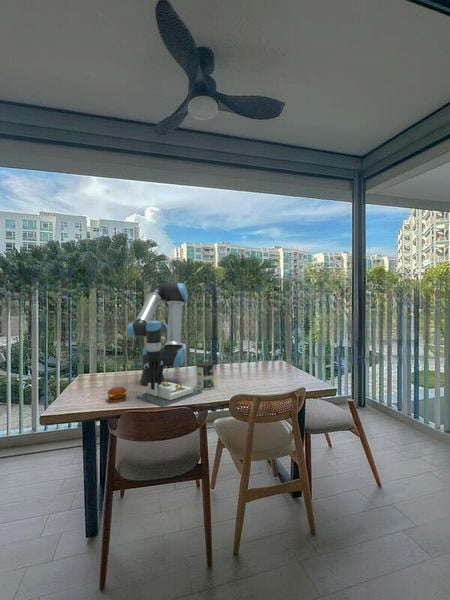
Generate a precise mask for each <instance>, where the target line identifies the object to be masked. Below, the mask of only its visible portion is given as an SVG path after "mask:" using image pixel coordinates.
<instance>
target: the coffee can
mask: <svg viewBox="0 0 450 600" xmlns="http://www.w3.org/2000/svg"><path fill="white" fill-rule="evenodd" d="M195 365H196V389H198V390H202V391H203V390H211V388H212V389H213V388H215V384H214V383H215V382H214V381H215V380H214V379H215V377H214V376H215V375H214V372H215V371H214V362H211V361H202V362H198V363H196V364H195Z"/></svg>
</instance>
